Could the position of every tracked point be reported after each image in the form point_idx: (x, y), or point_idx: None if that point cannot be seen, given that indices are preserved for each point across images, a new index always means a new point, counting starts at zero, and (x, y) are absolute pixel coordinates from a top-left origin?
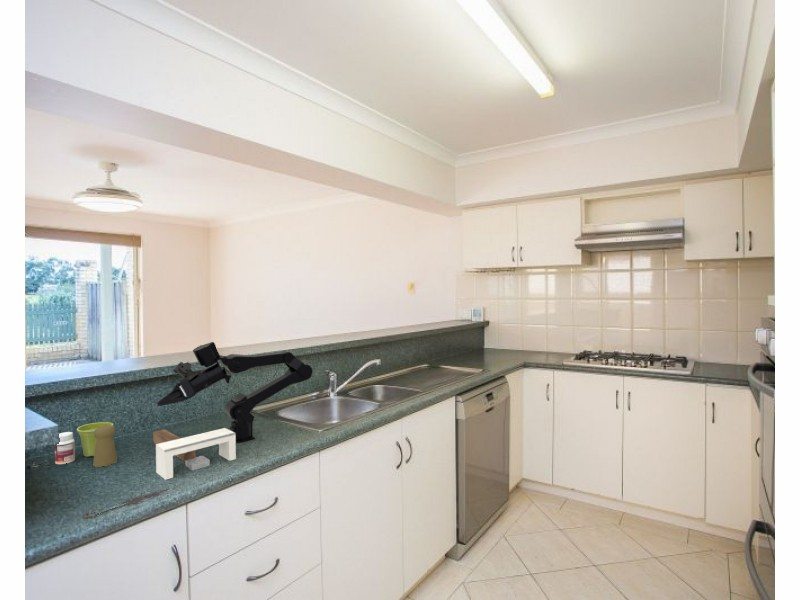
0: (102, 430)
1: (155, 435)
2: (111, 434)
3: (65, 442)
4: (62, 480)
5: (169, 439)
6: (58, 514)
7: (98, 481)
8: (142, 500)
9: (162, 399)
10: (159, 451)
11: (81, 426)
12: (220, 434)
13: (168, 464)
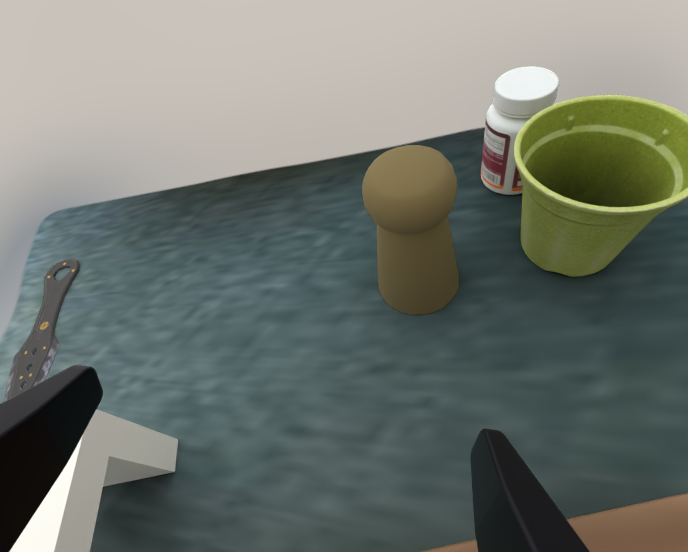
0: (367, 171)
1: (652, 501)
2: (375, 220)
3: (491, 115)
4: (330, 197)
5: None
6: (127, 222)
7: (250, 272)
8: (12, 373)
9: (5, 409)
10: None
11: (635, 101)
12: None
13: None
